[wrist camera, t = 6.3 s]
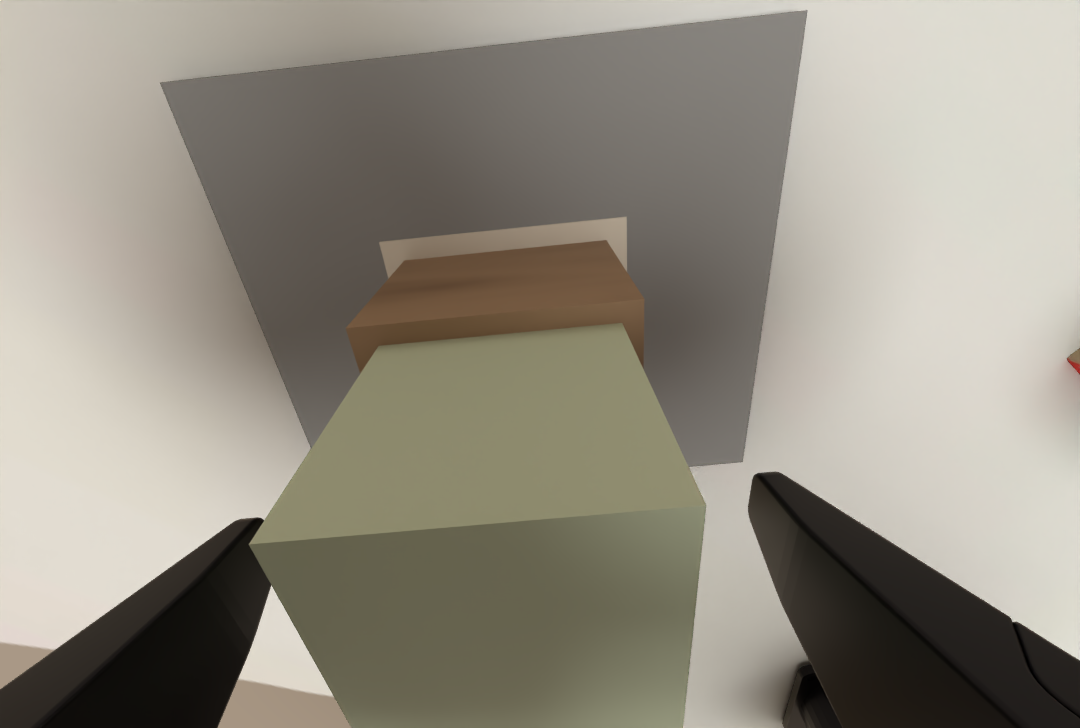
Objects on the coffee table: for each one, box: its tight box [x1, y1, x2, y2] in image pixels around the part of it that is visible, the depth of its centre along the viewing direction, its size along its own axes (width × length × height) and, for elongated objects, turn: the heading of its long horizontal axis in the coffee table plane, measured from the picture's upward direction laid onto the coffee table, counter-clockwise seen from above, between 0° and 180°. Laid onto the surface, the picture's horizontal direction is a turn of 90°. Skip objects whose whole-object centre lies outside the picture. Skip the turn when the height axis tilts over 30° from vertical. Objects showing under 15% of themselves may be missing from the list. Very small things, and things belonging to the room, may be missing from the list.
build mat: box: [160, 10, 808, 467], centre depth 15 cm, size 14×16×1 cm
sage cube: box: [249, 323, 706, 728], centre depth 8 cm, size 5×5×5 cm
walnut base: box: [346, 240, 644, 374], centre depth 13 cm, size 6×6×5 cm
